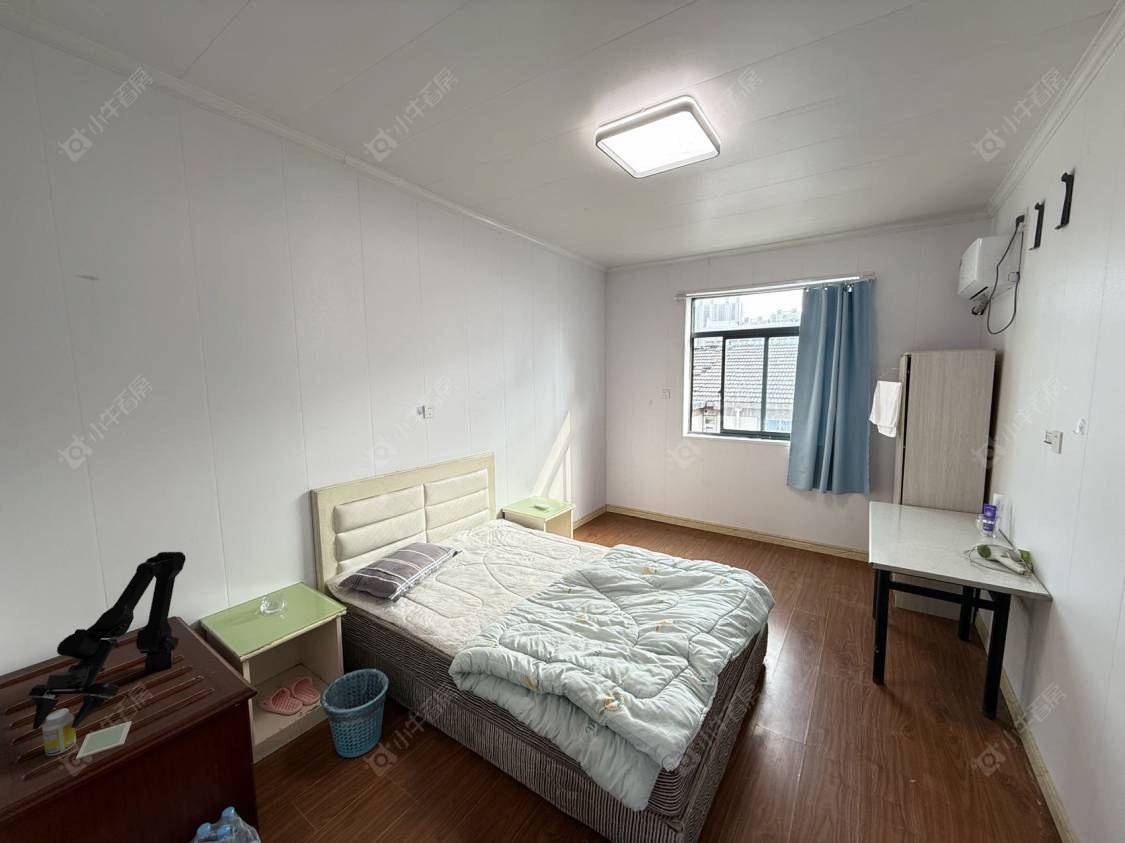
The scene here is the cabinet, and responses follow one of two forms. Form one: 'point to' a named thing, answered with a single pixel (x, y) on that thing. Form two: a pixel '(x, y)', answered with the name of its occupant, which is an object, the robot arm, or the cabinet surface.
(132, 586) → the robot arm
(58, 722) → the supplement bottle
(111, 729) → the card
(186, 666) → the cabinet surface
